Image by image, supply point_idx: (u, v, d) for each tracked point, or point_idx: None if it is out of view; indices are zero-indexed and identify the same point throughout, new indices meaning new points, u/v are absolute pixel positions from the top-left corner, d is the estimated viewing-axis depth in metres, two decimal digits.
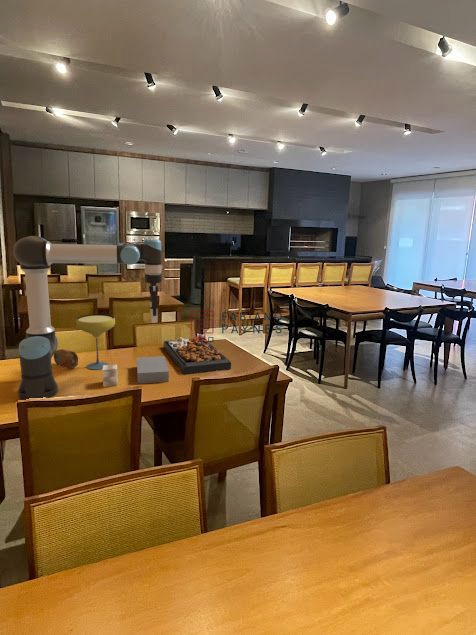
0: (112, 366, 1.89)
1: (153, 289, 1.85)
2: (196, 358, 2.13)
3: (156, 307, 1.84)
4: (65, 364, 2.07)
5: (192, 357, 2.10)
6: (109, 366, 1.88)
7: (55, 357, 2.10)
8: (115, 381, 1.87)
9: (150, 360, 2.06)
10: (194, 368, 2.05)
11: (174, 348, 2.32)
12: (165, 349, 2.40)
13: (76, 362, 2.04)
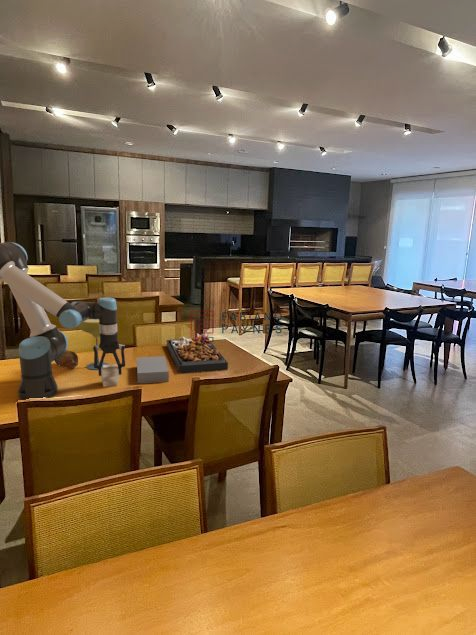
0: (112, 366, 1.89)
1: None
2: (193, 358, 2.14)
3: (94, 367, 1.85)
4: (65, 364, 2.07)
5: (189, 356, 2.11)
6: (109, 366, 1.88)
7: None
8: (115, 381, 1.87)
9: (150, 360, 2.06)
10: (190, 367, 2.06)
11: (175, 347, 2.34)
12: None
13: (76, 362, 2.04)
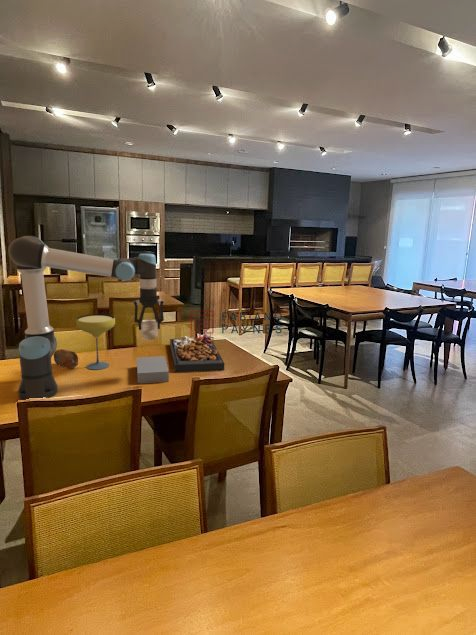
0: (151, 320, 1.96)
1: (134, 303, 1.92)
2: (191, 357, 2.15)
3: None
4: (65, 364, 2.07)
5: (186, 356, 2.12)
6: (148, 320, 1.96)
7: (55, 357, 2.10)
8: (154, 334, 1.95)
9: (150, 360, 2.06)
10: (185, 366, 2.06)
11: (176, 346, 2.36)
12: (170, 347, 2.44)
13: (76, 362, 2.04)
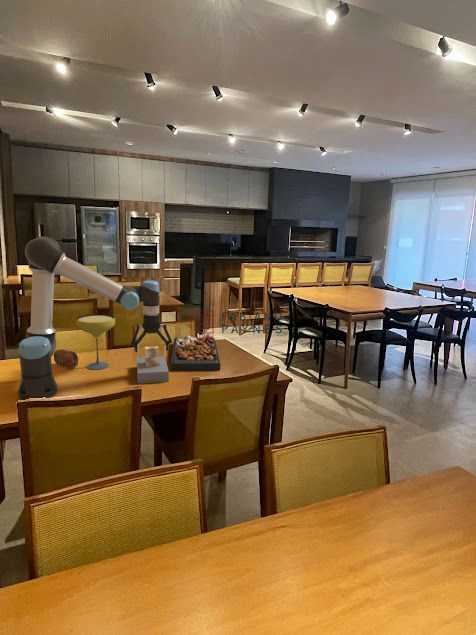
0: (154, 347, 2.01)
1: (136, 327, 1.96)
2: (188, 356, 2.15)
3: None
4: (65, 364, 2.07)
5: (183, 355, 2.13)
6: (151, 347, 2.00)
7: (55, 357, 2.10)
8: (157, 361, 1.99)
9: None
10: (181, 365, 2.07)
11: (178, 345, 2.37)
12: None
13: (76, 362, 2.04)
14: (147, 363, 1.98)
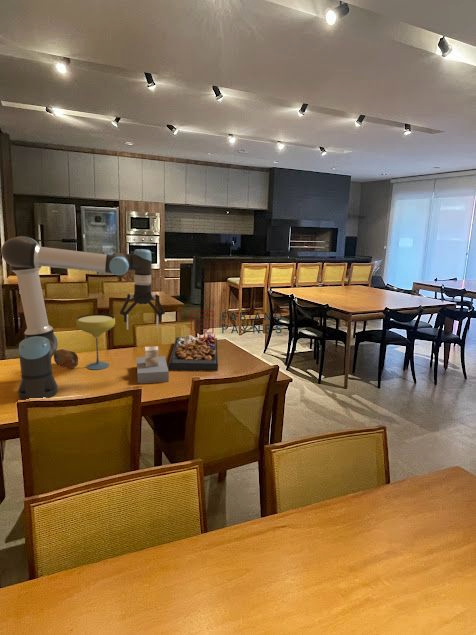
0: (154, 347, 2.01)
1: (127, 296, 1.90)
2: (187, 356, 2.16)
3: None
4: (65, 364, 2.07)
5: (181, 354, 2.14)
6: (151, 347, 2.00)
7: (55, 357, 2.10)
8: (157, 361, 1.99)
9: None
10: (179, 365, 2.08)
11: (179, 345, 2.38)
12: None
13: (76, 362, 2.04)
14: (147, 363, 1.98)
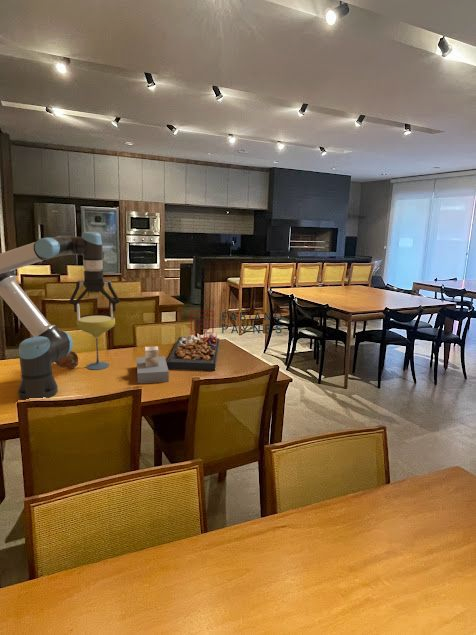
0: (154, 347, 2.01)
1: None
2: (185, 355, 2.17)
3: (69, 302, 1.74)
4: (65, 364, 2.07)
5: (180, 354, 2.14)
6: (151, 347, 2.00)
7: None
8: (157, 361, 1.99)
9: None
10: (176, 364, 2.09)
11: None
12: None
13: (76, 362, 2.04)
14: (147, 363, 1.98)
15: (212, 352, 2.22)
